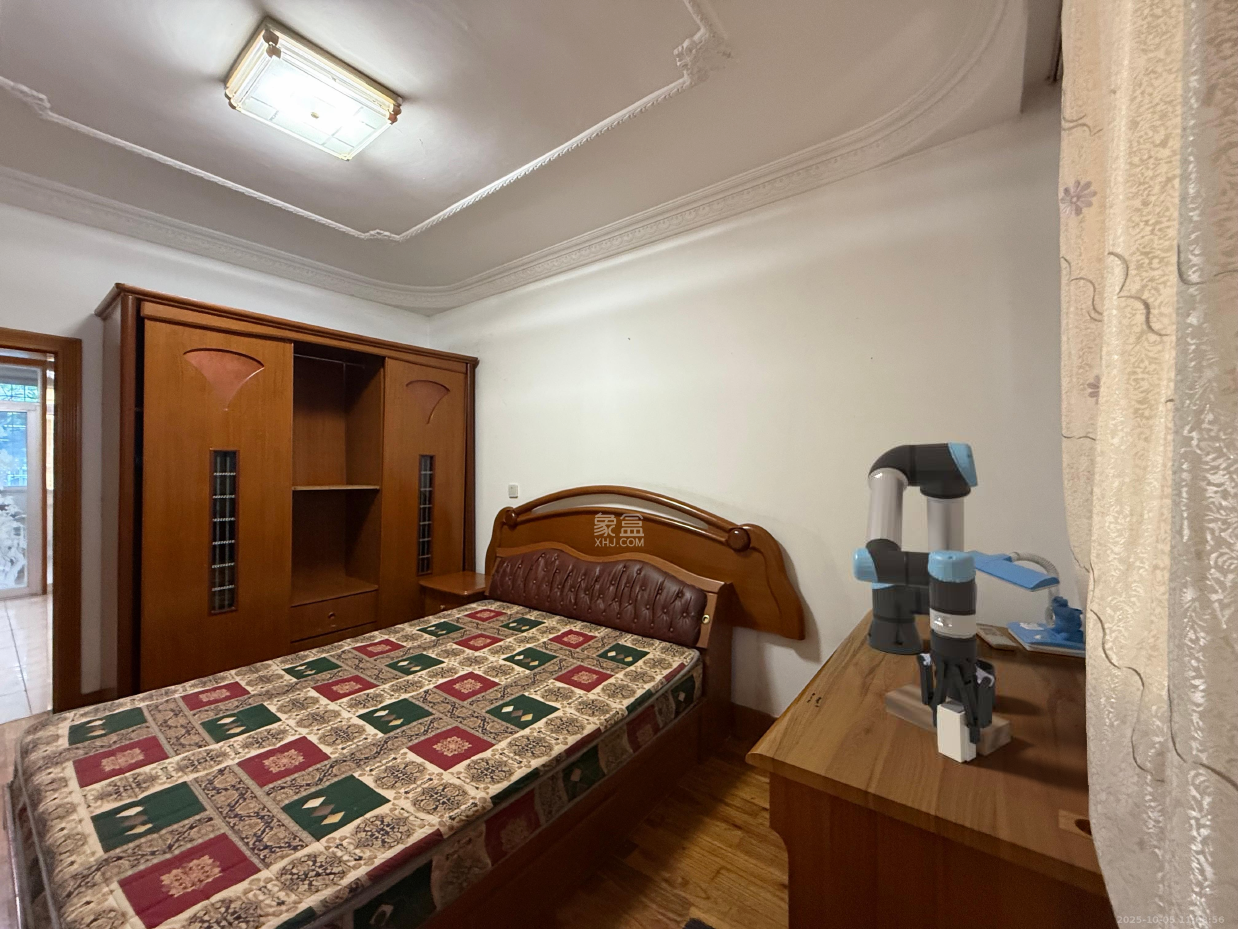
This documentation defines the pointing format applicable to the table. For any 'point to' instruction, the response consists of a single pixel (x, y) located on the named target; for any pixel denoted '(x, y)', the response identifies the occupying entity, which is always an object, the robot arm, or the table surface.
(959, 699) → the mug
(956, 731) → the block
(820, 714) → the table surface
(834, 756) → the table surface
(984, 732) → the wooden plank
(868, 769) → the table surface
